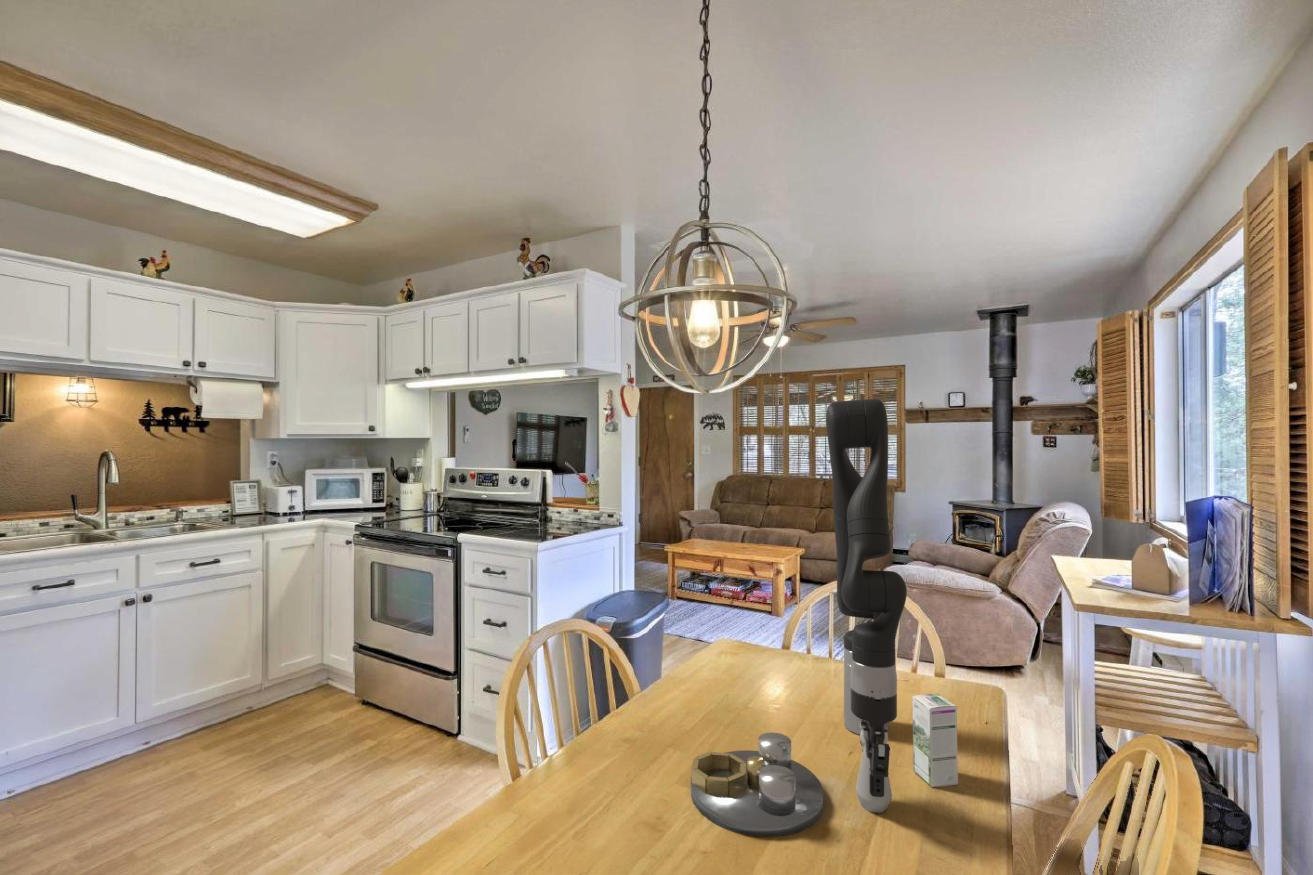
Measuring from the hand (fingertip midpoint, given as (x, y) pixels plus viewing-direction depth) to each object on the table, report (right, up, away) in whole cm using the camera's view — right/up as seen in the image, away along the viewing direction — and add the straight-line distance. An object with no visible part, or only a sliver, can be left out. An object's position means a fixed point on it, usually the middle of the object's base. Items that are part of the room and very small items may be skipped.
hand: (873, 785), depth 103 cm
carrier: (-20, -3, +3) cm, 20 cm away
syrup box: (+15, -4, +9) cm, 17 cm away
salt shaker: (0, -4, 0) cm, 4 cm away
